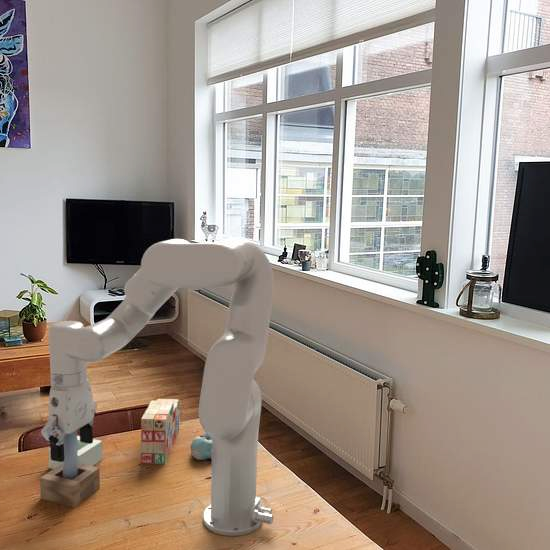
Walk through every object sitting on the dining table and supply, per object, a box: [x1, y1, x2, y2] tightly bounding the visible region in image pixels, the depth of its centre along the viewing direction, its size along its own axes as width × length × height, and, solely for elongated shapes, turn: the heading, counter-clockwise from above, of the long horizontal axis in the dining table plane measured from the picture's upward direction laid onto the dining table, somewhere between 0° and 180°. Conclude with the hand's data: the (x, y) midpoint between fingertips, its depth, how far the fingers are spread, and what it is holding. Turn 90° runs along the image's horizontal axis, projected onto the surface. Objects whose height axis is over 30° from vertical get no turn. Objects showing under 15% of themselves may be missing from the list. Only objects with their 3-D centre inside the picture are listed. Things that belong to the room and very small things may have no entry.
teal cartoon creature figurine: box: [190, 432, 212, 461], centre depth 156 cm, size 11×7×12 cm
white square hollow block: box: [48, 435, 104, 470], centre depth 148 cm, size 9×9×5 cm
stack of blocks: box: [140, 398, 180, 465], centre depth 160 cm, size 21×6×12 cm, turn 0°
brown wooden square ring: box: [39, 463, 101, 508], centre depth 135 cm, size 9×9×5 cm
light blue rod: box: [62, 430, 78, 480], centre depth 134 cm, size 3×3×16 cm
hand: (72, 451), depth 133 cm, fingers open, 9 cm apart
